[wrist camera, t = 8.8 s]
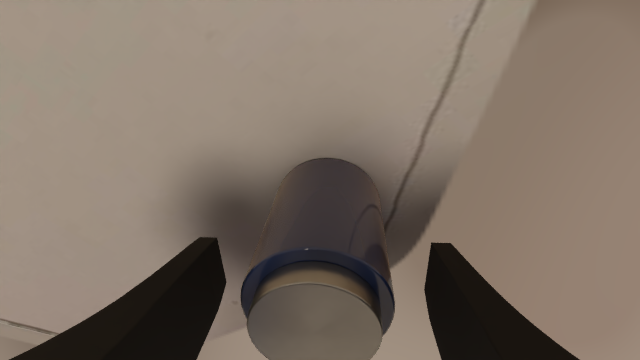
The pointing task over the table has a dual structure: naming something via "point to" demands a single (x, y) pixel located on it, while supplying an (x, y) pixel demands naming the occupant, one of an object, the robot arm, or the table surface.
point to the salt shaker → (320, 268)
